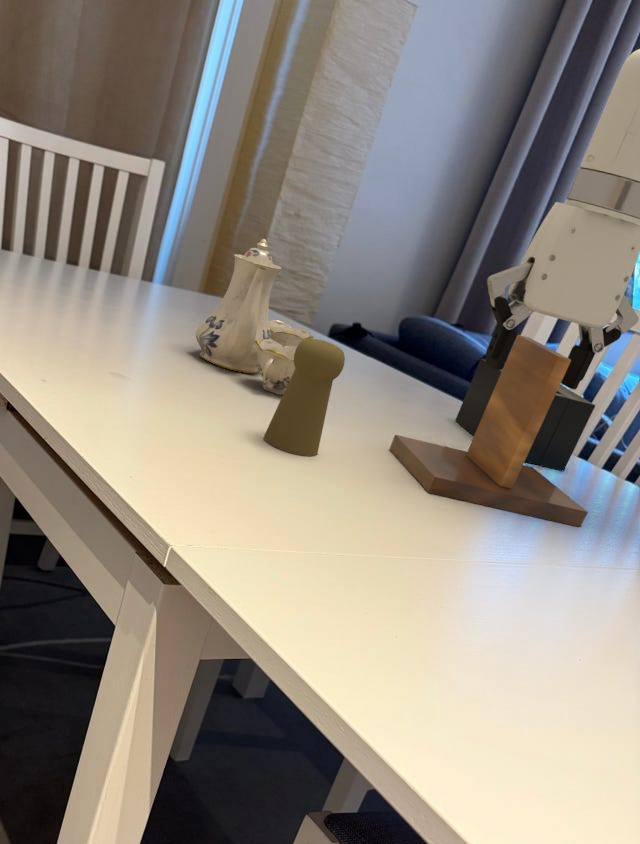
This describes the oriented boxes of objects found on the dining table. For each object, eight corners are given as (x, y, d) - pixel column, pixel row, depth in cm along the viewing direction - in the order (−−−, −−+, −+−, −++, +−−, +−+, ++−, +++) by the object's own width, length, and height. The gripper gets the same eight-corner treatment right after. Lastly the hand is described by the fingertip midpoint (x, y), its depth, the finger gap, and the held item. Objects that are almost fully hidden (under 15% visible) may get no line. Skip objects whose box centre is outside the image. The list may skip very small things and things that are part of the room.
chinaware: (314, 422, 117) (373, 292, 109) (190, 376, 114) (243, 238, 106) (288, 371, 141) (335, 261, 134) (186, 331, 139) (228, 217, 131)
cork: (321, 460, 96) (358, 356, 91) (266, 446, 96) (300, 340, 91) (313, 443, 102) (348, 343, 97) (261, 429, 101) (292, 328, 96)
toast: (477, 458, 108) (529, 337, 101) (511, 489, 99) (571, 359, 92) (465, 455, 107) (517, 334, 101) (499, 486, 99) (558, 356, 92)
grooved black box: (524, 437, 135) (552, 377, 131) (571, 473, 122) (604, 407, 118) (454, 420, 133) (480, 358, 129) (495, 455, 120) (525, 387, 116)
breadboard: (526, 481, 112) (532, 467, 111) (580, 527, 100) (588, 512, 99) (389, 449, 108) (394, 434, 107) (428, 492, 96) (435, 476, 95)
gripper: (664, 219, 95) (585, 385, 103) (512, 172, 91) (443, 348, 100) (707, 227, 88) (619, 404, 96) (545, 178, 85) (468, 366, 93)
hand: (530, 375), depth 98 cm, fingers open, 8 cm apart
